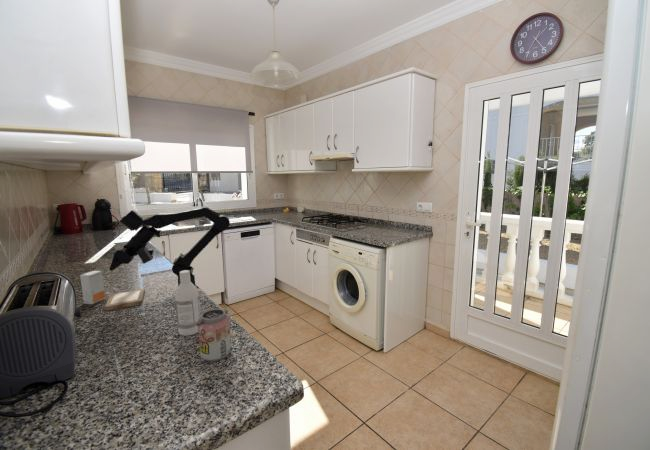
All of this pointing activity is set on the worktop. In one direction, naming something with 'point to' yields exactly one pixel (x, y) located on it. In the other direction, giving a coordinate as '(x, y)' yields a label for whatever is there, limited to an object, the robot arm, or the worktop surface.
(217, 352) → the beverage can
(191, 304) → the bath foam
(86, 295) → the skincare box
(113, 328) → the worktop surface
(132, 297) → the wooden picture frame
